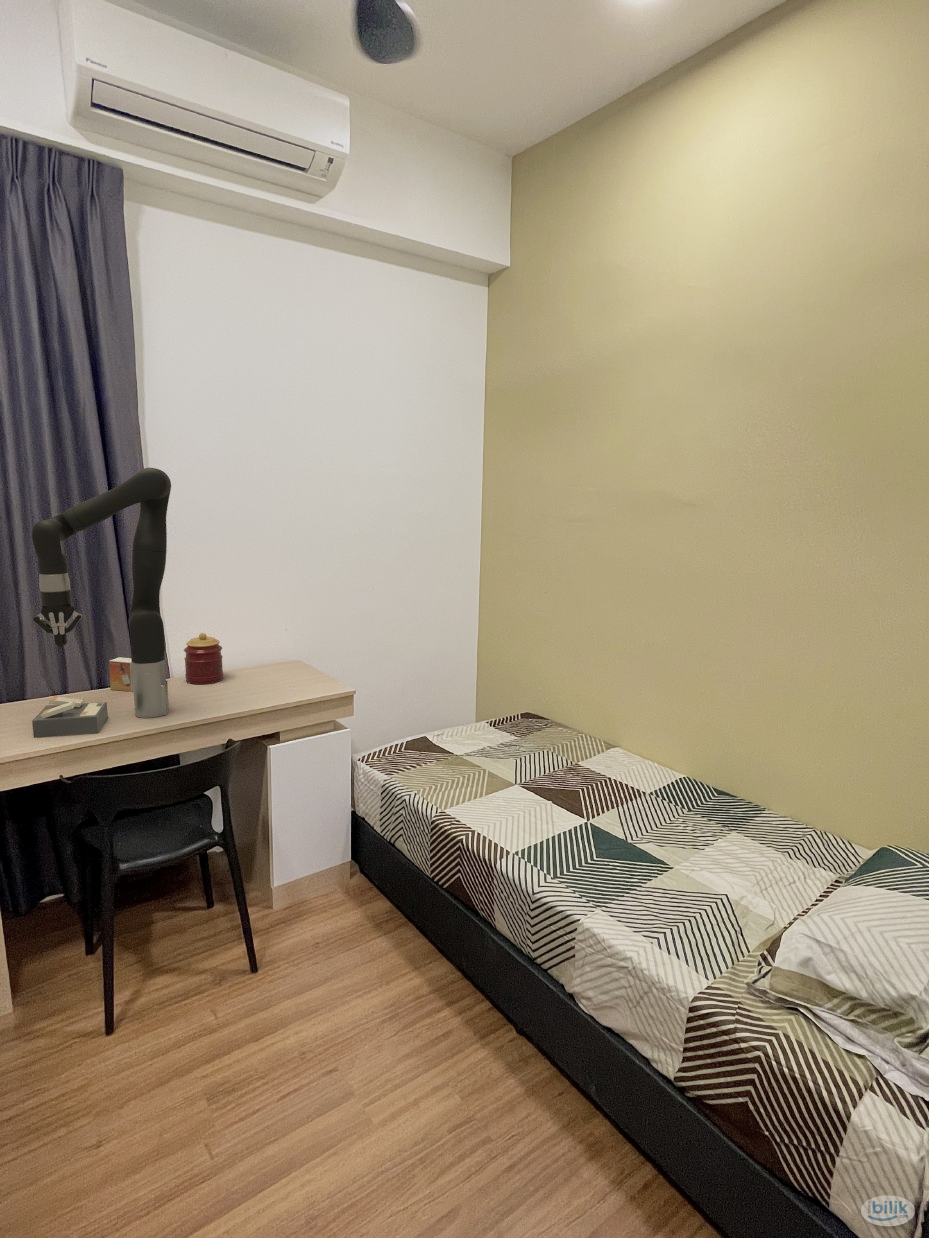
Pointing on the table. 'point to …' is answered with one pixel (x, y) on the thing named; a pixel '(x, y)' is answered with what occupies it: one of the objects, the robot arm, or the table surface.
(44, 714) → the rocker
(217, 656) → the canister
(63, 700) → the rocker
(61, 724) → the box
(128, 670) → the small box
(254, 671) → the table surface
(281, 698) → the table surface
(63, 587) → the robot arm
